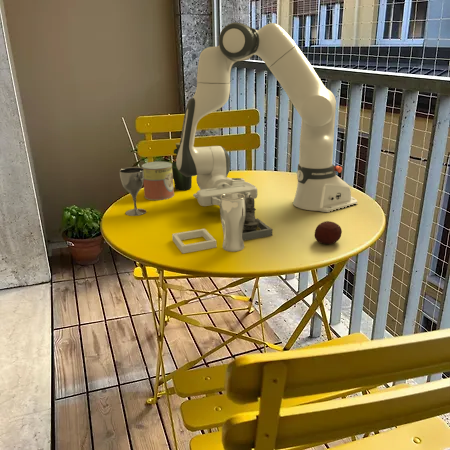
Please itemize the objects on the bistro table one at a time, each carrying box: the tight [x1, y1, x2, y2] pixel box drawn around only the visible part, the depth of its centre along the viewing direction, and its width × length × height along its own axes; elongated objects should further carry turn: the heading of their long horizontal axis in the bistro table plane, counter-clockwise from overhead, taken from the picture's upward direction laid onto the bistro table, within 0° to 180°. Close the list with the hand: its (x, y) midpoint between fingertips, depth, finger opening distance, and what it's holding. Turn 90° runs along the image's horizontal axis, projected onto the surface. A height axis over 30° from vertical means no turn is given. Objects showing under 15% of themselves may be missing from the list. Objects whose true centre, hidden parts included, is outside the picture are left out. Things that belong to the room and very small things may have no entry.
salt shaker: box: [243, 195, 260, 233], centre depth 135 cm, size 6×6×12 cm
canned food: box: [141, 160, 175, 201], centre depth 171 cm, size 11×11×12 cm
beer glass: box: [219, 193, 246, 253], centre depth 124 cm, size 7×7×15 cm
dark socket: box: [243, 218, 273, 242], centre depth 136 cm, size 10×10×2 cm
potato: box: [314, 220, 343, 245], centre depth 128 cm, size 7×8×6 cm
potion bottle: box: [172, 142, 193, 192], centre depth 178 cm, size 8×8×18 cm
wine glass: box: [119, 166, 147, 217], centre depth 153 cm, size 8×8×15 cm
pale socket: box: [171, 228, 218, 254], centre depth 130 cm, size 10×10×2 cm
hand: (236, 201), depth 143 cm, fingers open, 8 cm apart
